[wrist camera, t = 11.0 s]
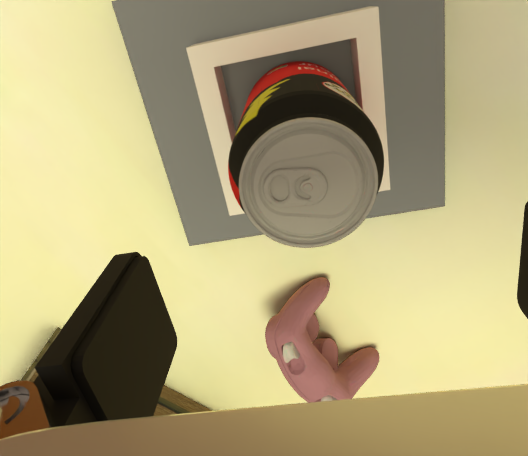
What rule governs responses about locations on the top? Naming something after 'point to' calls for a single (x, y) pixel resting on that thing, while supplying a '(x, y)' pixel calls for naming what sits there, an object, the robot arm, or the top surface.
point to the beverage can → (305, 157)
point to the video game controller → (314, 350)
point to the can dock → (268, 57)
